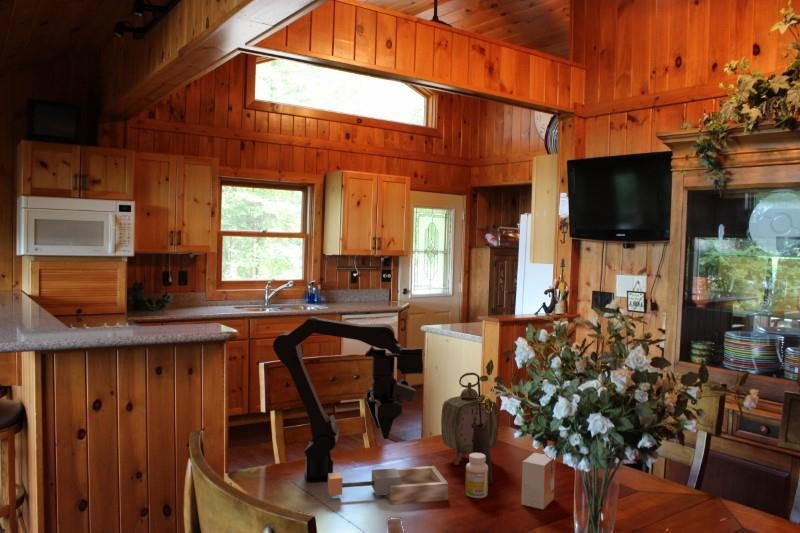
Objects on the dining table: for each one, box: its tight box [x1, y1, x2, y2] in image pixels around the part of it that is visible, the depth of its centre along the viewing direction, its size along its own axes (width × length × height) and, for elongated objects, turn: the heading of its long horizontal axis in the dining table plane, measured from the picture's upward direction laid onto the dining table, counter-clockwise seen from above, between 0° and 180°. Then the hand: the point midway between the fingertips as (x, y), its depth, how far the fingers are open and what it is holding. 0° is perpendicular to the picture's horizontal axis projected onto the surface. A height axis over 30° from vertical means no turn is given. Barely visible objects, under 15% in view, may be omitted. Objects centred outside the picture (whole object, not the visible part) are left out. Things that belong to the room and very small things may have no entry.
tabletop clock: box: [440, 372, 499, 466], centre depth 180 cm, size 14×9×25 cm, turn 118°
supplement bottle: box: [465, 453, 489, 499], centre depth 155 cm, size 5×5×10 cm
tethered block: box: [327, 467, 401, 496], centre depth 153 cm, size 17×6×4 cm, turn 103°
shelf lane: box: [385, 465, 449, 505], centre depth 156 cm, size 14×12×4 cm
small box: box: [520, 452, 556, 510], centre depth 152 cm, size 8×6×10 cm
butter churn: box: [472, 374, 493, 486], centre depth 164 cm, size 9×10×28 cm
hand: (382, 433), depth 164 cm, fingers open, 9 cm apart
